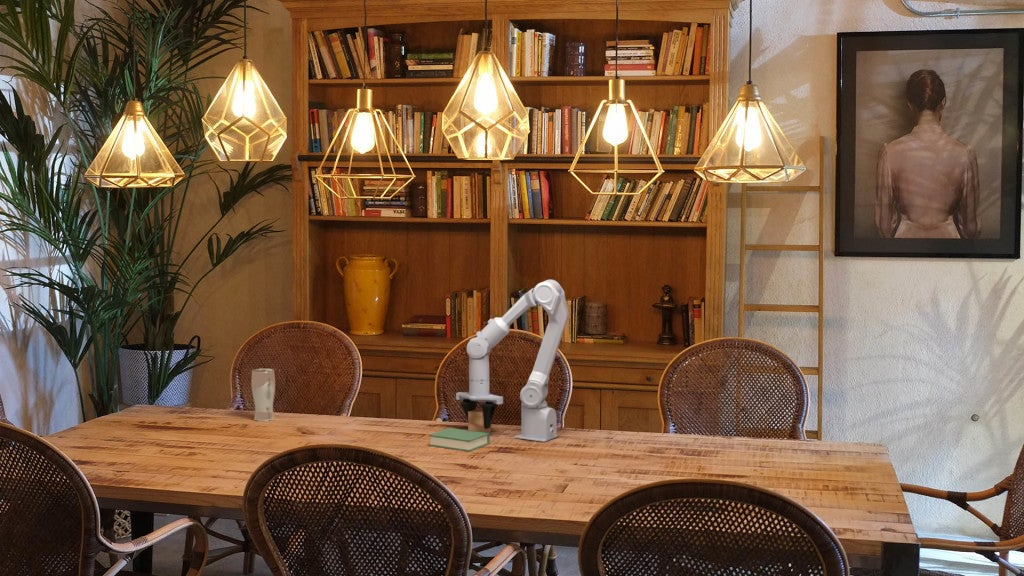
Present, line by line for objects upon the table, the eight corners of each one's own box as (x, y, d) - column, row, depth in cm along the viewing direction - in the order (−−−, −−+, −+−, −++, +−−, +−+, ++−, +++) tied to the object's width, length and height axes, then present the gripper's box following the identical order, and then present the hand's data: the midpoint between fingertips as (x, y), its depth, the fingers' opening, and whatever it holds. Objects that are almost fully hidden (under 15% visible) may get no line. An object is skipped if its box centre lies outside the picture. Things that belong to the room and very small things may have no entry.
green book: (489, 444, 285) (489, 433, 285) (469, 451, 277) (469, 440, 276) (450, 438, 292) (450, 427, 292) (429, 445, 283) (429, 434, 283)
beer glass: (263, 422, 312) (262, 372, 311) (247, 420, 316) (246, 370, 315) (280, 418, 318) (279, 369, 317) (264, 415, 322) (263, 367, 321)
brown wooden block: (490, 431, 297) (490, 410, 297) (482, 434, 293) (481, 413, 293) (477, 429, 299) (477, 408, 299) (468, 432, 296) (468, 411, 295)
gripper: (449, 379, 295) (450, 426, 296) (493, 383, 288) (493, 432, 289) (463, 375, 301) (464, 422, 302) (506, 379, 294) (507, 427, 295)
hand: (479, 427), depth 296 cm, fingers closed on brown wooden block, 5 cm apart
